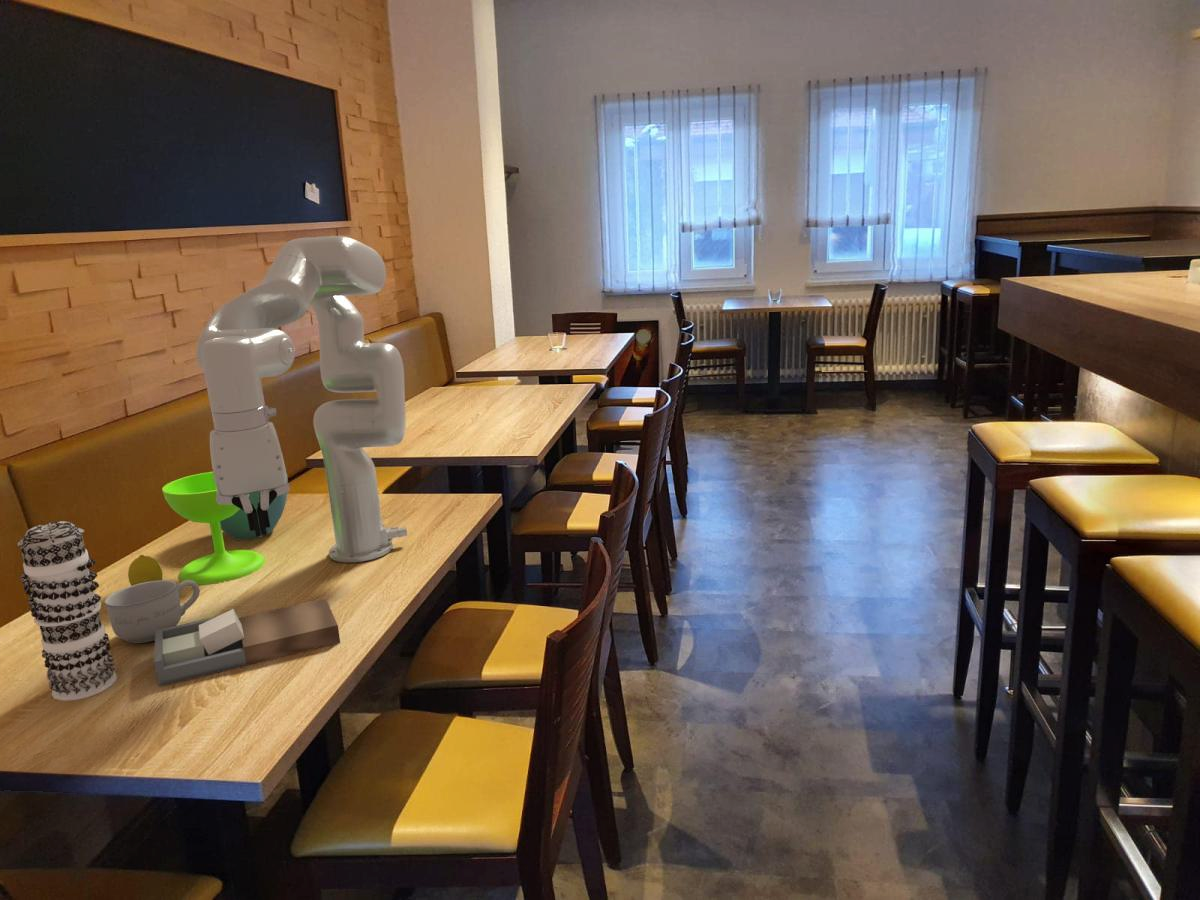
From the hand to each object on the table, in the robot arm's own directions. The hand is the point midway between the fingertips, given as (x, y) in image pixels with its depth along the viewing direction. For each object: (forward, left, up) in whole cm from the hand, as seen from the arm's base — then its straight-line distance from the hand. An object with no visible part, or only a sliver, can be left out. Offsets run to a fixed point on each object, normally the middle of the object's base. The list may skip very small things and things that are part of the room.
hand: (260, 533), depth 134 cm
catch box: (+11, 0, -18) cm, 22 cm away
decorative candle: (+27, 0, -19) cm, 33 cm away
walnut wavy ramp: (-2, 0, -18) cm, 18 cm away
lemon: (+19, -33, -19) cm, 42 cm away
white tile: (+8, 0, -16) cm, 18 cm away
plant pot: (-1, -59, -19) cm, 62 cm away
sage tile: (+14, +1, -18) cm, 22 cm away
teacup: (+17, -14, -19) cm, 29 cm away
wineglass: (+6, -40, -19) cm, 45 cm away
